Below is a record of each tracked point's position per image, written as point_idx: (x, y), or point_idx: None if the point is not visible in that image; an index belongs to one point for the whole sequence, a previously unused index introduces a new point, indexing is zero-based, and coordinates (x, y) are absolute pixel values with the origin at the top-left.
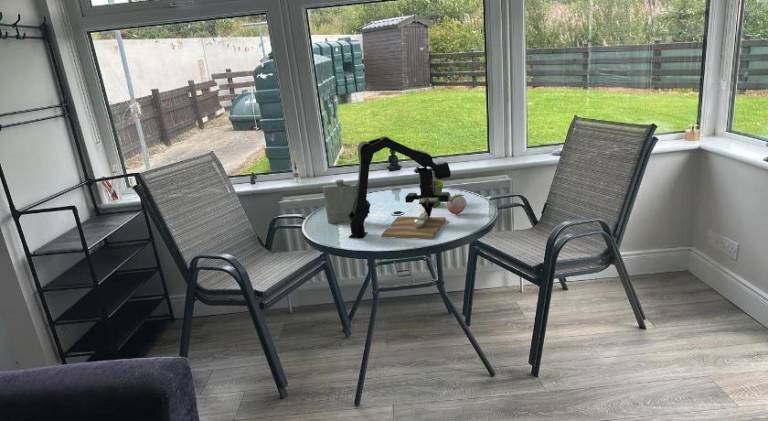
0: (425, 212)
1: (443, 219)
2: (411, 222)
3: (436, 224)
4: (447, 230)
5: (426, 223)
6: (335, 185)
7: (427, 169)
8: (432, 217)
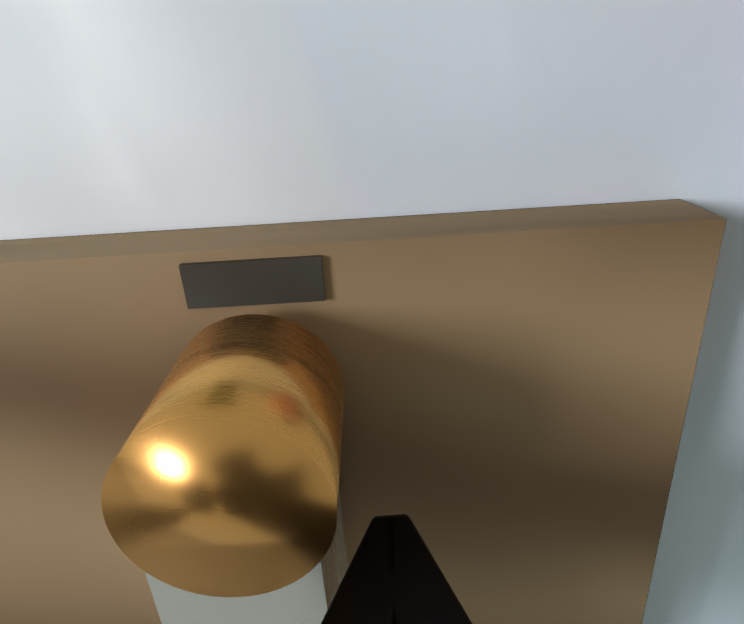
0: (261, 589)
1: (683, 365)
2: (58, 575)
3: (571, 604)
4: (732, 612)
5: None
6: None
7: None
8: (383, 265)
